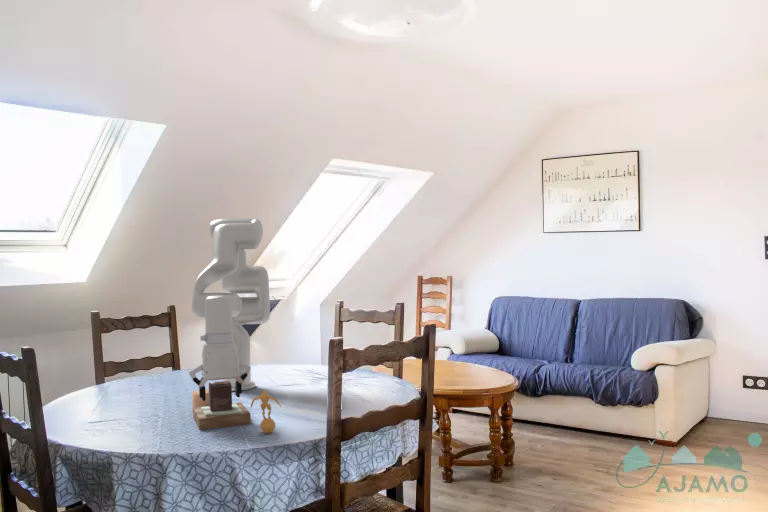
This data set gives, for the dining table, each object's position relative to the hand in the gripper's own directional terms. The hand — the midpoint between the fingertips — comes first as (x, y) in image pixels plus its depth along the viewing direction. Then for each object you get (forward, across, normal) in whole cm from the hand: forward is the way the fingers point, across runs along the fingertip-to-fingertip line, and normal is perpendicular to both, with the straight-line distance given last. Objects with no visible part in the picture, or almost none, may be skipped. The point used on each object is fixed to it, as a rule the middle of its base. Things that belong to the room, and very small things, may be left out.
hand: (220, 398), depth 198 cm
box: (+3, 0, 0) cm, 3 cm away
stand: (+6, 0, 0) cm, 6 cm away
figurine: (+7, +9, -19) cm, 22 cm away
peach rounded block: (+7, -3, +13) cm, 15 cm away
